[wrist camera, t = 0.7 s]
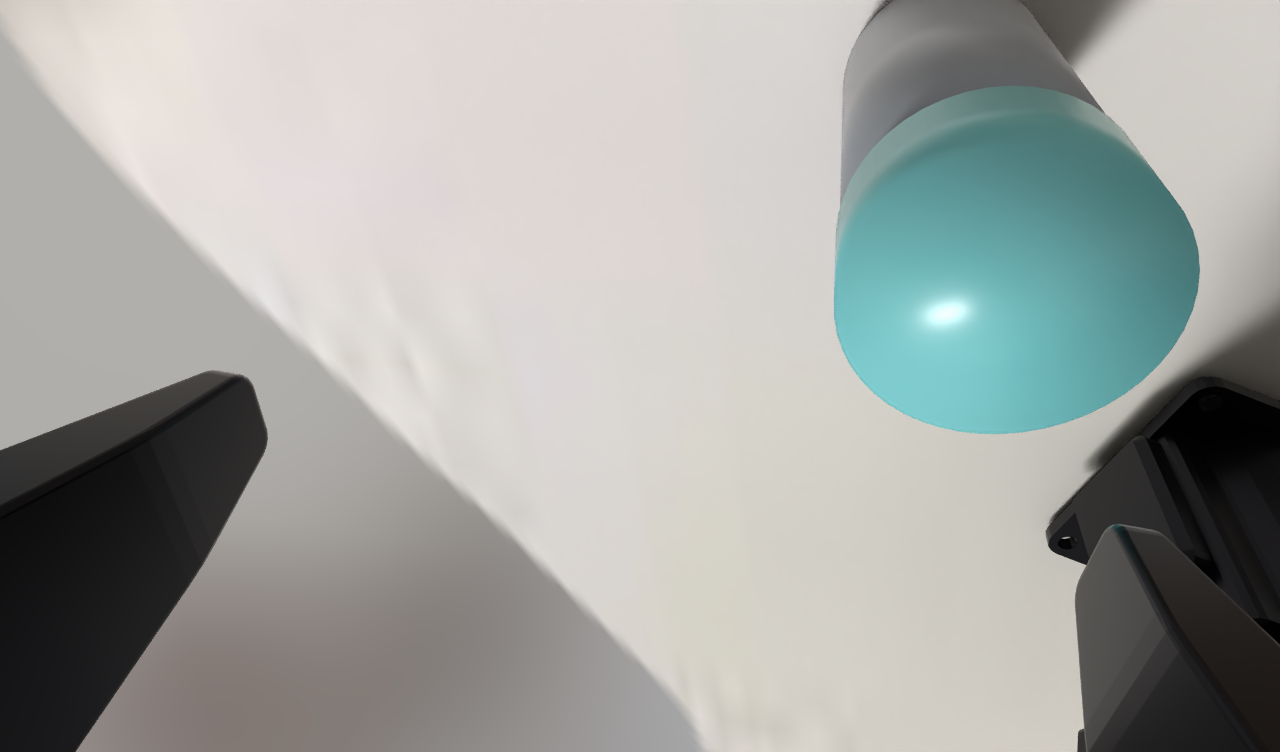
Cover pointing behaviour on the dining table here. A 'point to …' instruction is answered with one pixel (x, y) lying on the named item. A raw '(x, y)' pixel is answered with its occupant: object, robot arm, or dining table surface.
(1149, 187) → the marker
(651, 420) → the dining table surface
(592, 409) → the dining table surface
